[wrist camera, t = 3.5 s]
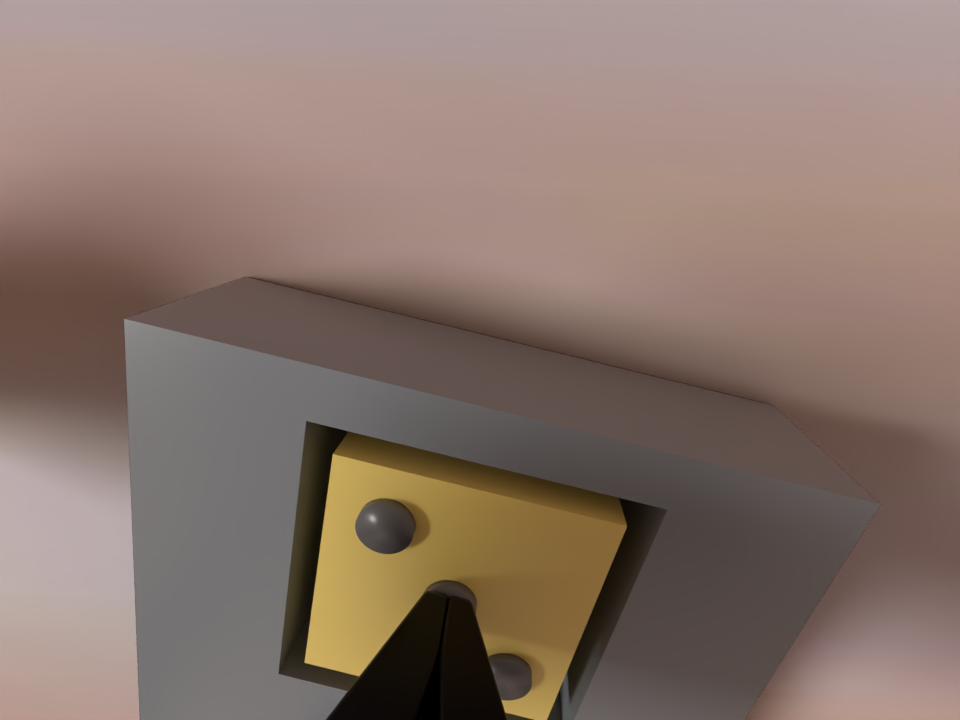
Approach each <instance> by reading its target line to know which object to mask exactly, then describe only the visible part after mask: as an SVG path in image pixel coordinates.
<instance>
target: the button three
mask: <svg viewBox="0 0 960 720" xmlns="http://www.w3.org/2000/svg"><path fill="white" fill-rule="evenodd" d="M626 528H627V524H626V521H625V517H624V514H623V510H622V507H621V503H620V500H619V498H618V497H614V496H610V495H606V494H602V493H598V492H594V491H590V490H586V489H581V488H577V487H573V486H569V485H565V484H561V483H557V482H553V481H549V480H545V479H541V478H537V477H533V476H529V475H524V474H520V473H516V472H512V471H508V470H504V469H500V468H496V467H492V466H488V465H484V464H480V463H476V462H472V461H467V460H463V459H459V458H455V457H451V456H447V455H443V454H439V453H435V452H431V451H427V450H423V449H419V448H415V447H410V446H406V445H402V444H398V443H394V442H390V441H386V440H382V439H378V438H374V437H370V436H366V435H362V434H357V433H353V432H348V433H347V435H346V436H345V437H344V439H343V440H342V442H341V443H340V445H339V446H338V447H337V449H336V450H335V452H334V453H333V456H332V463H331V471H330V478H329V485H328V493H327V500H326V508H325V515H324V522H323V530H322V537H321V544H320V552H319V559H318V566H317V574H316V581H315V589H314V596H313V603H312V611H311V618H310V625H309V633H308V640H307V648H306V655H305V662H304V663H307V664H311V665H315V666H320V667H324V668H328V669H332V670H336V671H340V672H344V673H348V674H352V675H356V676H360V675H361V673H362V672H363V671H364V669H365V668H366V667H367V666H368V664H369V663H370V662H371V660H372V659H373V658H374V657H375V655H376V654H377V653H378V651H379V650H380V649H381V648H382V646H383V645H384V644H385V642H386V641H387V640H388V639H389V637H390V636H391V635H392V633H393V632H394V631H395V629H396V628H397V627H398V626H399V624H400V623H401V622H402V620H403V619H404V618H405V617H406V615H407V614H408V613H409V611H410V610H411V609H412V608H413V606H414V605H415V604H416V602H417V601H418V600H419V599H420V597H421V596H422V595H423V593H424V592H425V591H427V590H432V591H436V592H440V593H444V594H446V595H447V596H448V598H449V597H450V596H456V597H460V598H464V599H468V600H470V601H471V602H472V605H473V608H474V611H475V614H476V617H477V621H478V624H479V627H480V631H481V634H482V637H483V641H484V644H485V647H486V650H487V654H488V657H489V660H490V664H491V667H492V670H493V674H494V677H495V680H496V683H497V687H498V690H499V693H500V697H501V700H502V703H503V707H504V710H505V713H509V714H513V715H517V716H521V717H525V718H529V719H533V720H547V719H548V716H549V714H550V711H551V709H552V707H553V704H554V702H555V699H556V697H557V694H558V692H559V690H560V687H561V685H562V682H563V680H564V678H565V675H566V673H567V670H568V668H569V666H570V663H571V661H572V658H573V656H574V653H575V651H576V649H577V646H578V644H579V641H580V639H581V637H582V634H583V632H584V629H585V627H586V625H587V622H588V620H589V617H590V615H591V613H592V610H593V608H594V605H595V603H596V600H597V598H598V596H599V593H600V591H601V588H602V586H603V584H604V581H605V579H606V576H607V574H608V572H609V569H610V567H611V564H612V562H613V560H614V557H615V555H616V552H617V550H618V547H619V545H620V543H621V540H622V538H623V535H624V533H625V531H626Z"/></svg>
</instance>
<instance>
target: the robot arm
mask: <svg viewBox="0 0 960 720" xmlns="http://www.w3.org/2000/svg"><path fill="white" fill-rule="evenodd" d="M326 720H507V717H506V713H505V710H504V707H503V703H502V700H501V697H500V693H499V690H498V687H497V683H496V680H495V677H494V674H493V670H492V667H491V664H490V660H489V657H488V654H487V650H486V647H485V644H484V641H483V637H482V634H481V631H480V627H479V624H478V621H477V617H476V614H475V611H474V608H473V605H472V602H471V601H470V600H468V599H464V598H460V597H456V596H450V597H449V598H448V596H447V595H446V594H444V593H440V592H436V591H432V590H427V591H425V592H424V593H423V595H422V596H421V597H420V599H419V600H418V601H417V602H416V604H415V605H414V606H413V608H412V609H411V610H410V611H409V613H408V614H407V615H406V617H405V618H404V619H403V620H402V622H401V623H400V624H399V626H398V627H397V628H396V629H395V631H394V632H393V633H392V635H391V636H390V637H389V639H388V640H387V641H386V642H385V644H384V645H383V646H382V648H381V649H380V650H379V651H378V653H377V654H376V655H375V657H374V658H373V659H372V660H371V662H370V663H369V664H368V666H367V667H366V668H365V669H364V671H363V672H362V673H361V675H360V676H359V677H358V678H357V680H356V681H355V682H354V684H353V685H352V686H351V688H350V689H349V690H348V691H347V693H346V694H345V695H344V697H343V698H342V699H341V700H340V702H339V703H338V704H337V706H336V707H335V708H334V709H333V711H332V712H331V713H330V715H329V716H328V717H327V718H326Z"/></svg>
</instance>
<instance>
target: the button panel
mask: <svg viewBox="0 0 960 720" xmlns="http://www.w3.org/2000/svg"><path fill="white" fill-rule="evenodd" d="M124 331H125V357H126V382H127V408H128V433H129V459H130V484H131V509H132V535H133V560H134V586H135V611H136V636H137V662H138V687H139V713H140V720H326V718H327V717H328V716H329V715H330V713H331V712H332V711H333V709H334V708H335V707H336V706H337V704H338V703H339V702H340V700H341V699H342V698H343V697H344V695H345V694H346V693H347V691H348V690H349V689H350V688H351V686H352V685H353V684H354V682H355V681H356V680H357V678H358V677H359V676H356V675H352V674H348V673H344V672H340V671H336V670H332V669H328V668H324V667H320V666H315V665H311V664H307V663H304V662H305V655H306V648H307V640H308V633H309V625H310V618H311V611H312V603H313V596H314V589H315V581H316V574H317V566H318V559H319V552H320V544H321V537H322V530H323V522H324V515H325V508H326V500H327V493H328V485H329V478H330V471H331V463H332V456H333V453H334V452H335V450H336V449H337V447H338V446H339V445H340V443H341V442H342V440H343V439H344V437H345V436H346V435H347V433H348V432H353V433H357V434H362V435H366V436H370V437H374V438H378V439H382V440H386V441H390V442H394V443H398V444H402V445H406V446H410V447H415V448H419V449H423V450H427V451H431V452H435V453H439V454H443V455H447V456H451V457H455V458H459V459H463V460H467V461H472V462H476V463H480V464H484V465H488V466H492V467H496V468H500V469H504V470H508V471H512V472H516V473H520V474H524V475H529V476H533V477H537V478H541V479H545V480H549V481H553V482H557V483H561V484H565V485H569V486H573V487H577V488H581V489H586V490H590V491H594V492H598V493H602V494H606V495H610V496H614V497H618V498H619V500H620V503H621V507H622V510H623V514H624V517H625V521H626V524H627V528H626V531H625V533H624V535H623V538H622V540H621V543H620V545H619V547H618V550H617V552H616V555H615V557H614V560H613V562H612V564H611V567H610V569H609V572H608V574H607V576H606V579H605V581H604V584H603V586H602V588H601V591H600V593H599V596H598V598H597V600H596V603H595V605H594V608H593V610H592V613H591V615H590V617H589V620H588V622H587V625H586V627H585V629H584V632H583V634H582V637H581V639H580V641H579V644H578V646H577V649H576V651H575V653H574V656H573V658H572V661H571V663H570V666H569V668H568V670H567V673H566V675H565V678H564V680H563V682H562V685H561V687H560V690H559V692H558V694H557V697H556V699H555V702H554V704H553V707H552V709H551V711H550V714H549V716H548V719H547V720H744V719H745V718H746V716H747V715H748V713H749V711H750V710H751V708H752V707H753V705H754V704H755V702H756V700H757V699H758V697H759V696H760V694H761V693H762V691H763V689H764V688H765V686H766V685H767V683H768V682H769V680H770V678H771V677H772V675H773V674H774V672H775V671H776V669H777V667H778V666H779V664H780V663H781V661H782V660H783V658H784V656H785V655H786V653H787V652H788V650H789V648H790V647H791V645H792V644H793V642H794V641H795V639H796V637H797V636H798V634H799V633H800V631H801V630H802V628H803V626H804V625H805V623H806V622H807V620H808V619H809V617H810V615H811V614H812V612H813V611H814V609H815V608H816V606H817V604H818V603H819V601H820V600H821V598H822V597H823V595H824V593H825V592H826V590H827V589H828V587H829V586H830V584H831V582H832V581H833V579H834V578H835V576H836V574H837V573H838V571H839V570H840V568H841V567H842V565H843V563H844V562H845V560H846V559H847V557H848V556H849V554H850V552H851V551H852V549H853V548H854V546H855V545H856V543H857V541H858V540H859V538H860V537H861V535H862V534H863V532H864V530H865V529H866V527H867V526H868V524H869V523H870V521H871V519H872V518H873V516H874V515H875V513H876V511H877V510H878V508H879V507H880V505H881V504H880V503H879V502H878V501H877V500H876V499H875V498H874V497H873V496H872V495H871V494H869V493H868V492H867V491H866V490H865V489H864V488H863V487H862V486H861V485H860V484H859V483H857V482H856V481H855V480H854V479H853V478H852V477H851V476H850V475H849V474H848V473H847V472H845V471H844V470H843V469H842V468H841V467H840V466H839V465H838V464H837V463H836V462H835V461H833V460H832V459H831V458H830V457H829V456H828V455H827V454H826V453H825V452H824V451H823V450H822V449H820V448H819V447H818V446H817V445H816V444H815V443H814V442H813V441H812V440H811V439H810V438H808V437H807V436H806V435H805V434H804V433H803V432H802V431H801V430H800V429H799V428H798V427H796V426H795V425H794V424H793V423H792V422H791V421H790V420H789V419H788V418H787V417H786V416H784V415H783V414H782V413H781V412H780V411H779V410H778V409H777V408H776V407H775V406H773V405H769V404H765V403H760V402H756V401H752V400H748V399H744V398H740V397H736V396H732V395H728V394H724V393H719V392H715V391H711V390H707V389H703V388H699V387H695V386H691V385H687V384H683V383H679V382H674V381H670V380H666V379H662V378H658V377H654V376H650V375H646V374H642V373H638V372H634V371H629V370H625V369H621V368H617V367H613V366H609V365H605V364H601V363H597V362H593V361H589V360H584V359H580V358H576V357H572V356H568V355H564V354H560V353H556V352H552V351H548V350H544V349H539V348H535V347H531V346H527V345H523V344H519V343H515V342H511V341H507V340H503V339H498V338H494V337H490V336H486V335H482V334H478V333H474V332H470V331H466V330H462V329H458V328H453V327H449V326H445V325H441V324H437V323H433V322H429V321H425V320H421V319H417V318H413V317H408V316H404V315H400V314H396V313H392V312H388V311H384V310H380V309H376V308H372V307H368V306H363V305H359V304H355V303H351V302H347V301H343V300H339V299H335V298H331V297H327V296H323V295H318V294H314V293H310V292H306V291H302V290H298V289H294V288H290V287H286V286H282V285H277V284H273V283H269V282H265V281H261V280H257V279H253V278H249V277H243V278H240V279H237V280H234V281H231V282H228V283H225V284H222V285H220V286H217V287H214V288H211V289H208V290H205V291H202V292H199V293H197V294H194V295H191V296H188V297H185V298H182V299H179V300H176V301H174V302H171V303H168V304H165V305H162V306H159V307H156V308H153V309H151V310H148V311H145V312H142V313H139V314H136V315H133V316H130V317H128V318H125V319H124ZM506 717H507V720H533V719H529V718H525V717H521V716H517V715H513V714H509V713H506Z"/></svg>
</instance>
